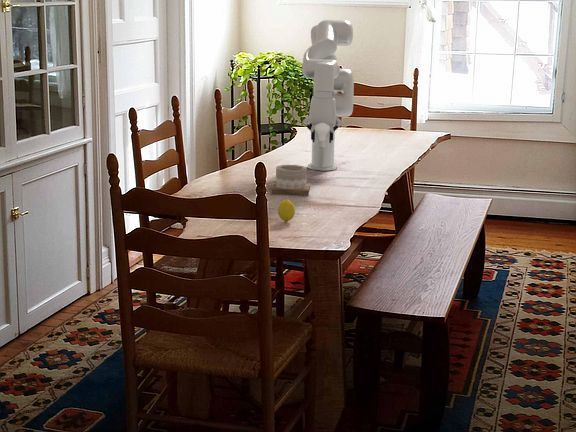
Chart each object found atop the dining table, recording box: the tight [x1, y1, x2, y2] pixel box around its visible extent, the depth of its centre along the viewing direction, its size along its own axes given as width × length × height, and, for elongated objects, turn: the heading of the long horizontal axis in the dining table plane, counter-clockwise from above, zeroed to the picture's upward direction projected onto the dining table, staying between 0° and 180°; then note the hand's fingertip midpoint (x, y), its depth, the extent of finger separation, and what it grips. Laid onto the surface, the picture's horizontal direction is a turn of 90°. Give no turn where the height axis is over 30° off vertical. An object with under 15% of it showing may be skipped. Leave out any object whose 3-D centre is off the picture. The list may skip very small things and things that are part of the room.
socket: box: [270, 164, 311, 197], centre depth 350 cm, size 14×14×9 cm
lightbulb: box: [314, 123, 330, 148], centre depth 356 cm, size 6×6×11 cm
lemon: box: [277, 198, 296, 223], centre depth 307 cm, size 6×6×8 cm
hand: (321, 141), depth 356 cm, fingers closed on lightbulb, 5 cm apart
